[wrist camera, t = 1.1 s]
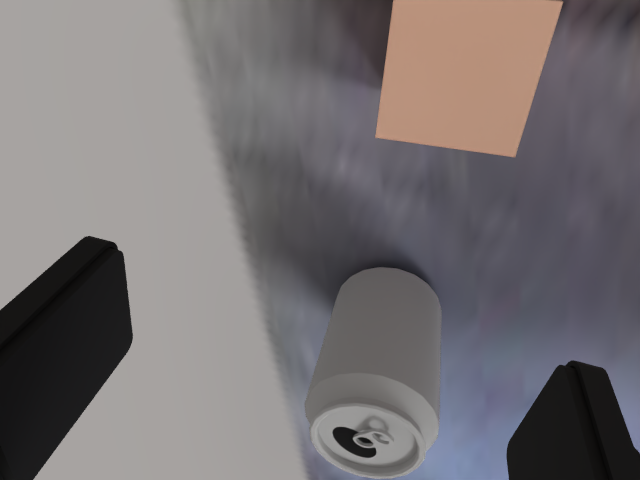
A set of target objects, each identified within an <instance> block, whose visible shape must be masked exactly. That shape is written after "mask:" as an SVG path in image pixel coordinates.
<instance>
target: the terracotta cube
mask: <svg viewBox="0 0 640 480" xmlns="http://www.w3.org/2000/svg"><path fill="white" fill-rule="evenodd" d="M562 4H563V1H561V0H393V7H392V15H391V23H390V30H389V38H388V45H387V53H386V60H385V68H384V76H383V83H382V91H381V98H380V106H379V114H378V121H377V129H376V136H375V138H382V139H389V140H396V141H403V142H410V143H417V144H424V145H431V146H438V147H445V148H452V149H459V150H467V151H474V152H481V153H488V154H495V155H502V156H509V157H515V156H516V152H517V149H518V146H519V143H520V139H521V136H522V133H523V130H524V127H525V123H526V120H527V117H528V114H529V110H530V107H531V104H532V101H533V98H534V94H535V91H536V88H537V85H538V81H539V78H540V75H541V72H542V68H543V65H544V62H545V59H546V56H547V52H548V49H549V46H550V43H551V39H552V36H553V33H554V30H555V26H556V23H557V20H558V17H559V14H560V10H561V7H562Z"/></svg>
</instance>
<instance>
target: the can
mask: <svg viewBox="0 0 640 480" xmlns="http://www.w3.org/2000/svg"><path fill="white" fill-rule="evenodd" d="M441 310H442V309H441V306H440V303H439V299H438V296H437V295H436V294H435V292H434V291H433V290H432V288H431V287H430V286H429V285H428V284H427V283H426V282H424V281H423V280H422V279H420V278H419V277H417V276H416V275H414V274H412V273H409V272H406V271H403V270H400V269H396V268H385V267H378V268H372V269H366V270H363V271H361V272H359V273H357V274H355V275H353V276H351V277H350V278H349V279H348V280H347V281H346V282H345V283H344V284H343V285H342V286H341V288H340V290H339V293H338V295H337V298H336V301H335V305H334V308H333V311H332V315H331V318H330V321H329V325H328V328H327V331H326V334H325V338H324V341H323V344H322V348H321V351H320V354H319V358H318V361H317V364H316V368H315V371H314V374H313V378H312V381H311V384H310V387H309V391H308V394H307V397H306V401H305V411H306V418H307V419H308V421H309V423H310V427H309V429H310V439H311V441H312V443H313V445H314V446H315V448H316V450H317V451H318V452H319V453H320V454H321V455H322V456H323V457H324V458H325V459H326V460H327V461H328V462H330V463H332V464H333V465H335V466H337V467H338V468H340V469H341V470H344V471H347V472H349V473H352V474H355V475H357V476H363V477H368V478H374V479H391V478H395V477H399V476H404V475H407V474H408V473H410V472H412V471H414V470H415V469H417V468H418V467H419V466H420V465H421V463H422V462H423V460H424V459H425V454H426V451H427V450H429V449H430V447H431V446H432V445H433V443H434V442H435V440H436V439H437V437H438V430H439V411H440V361H441Z"/></svg>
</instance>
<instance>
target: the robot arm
mask: <svg viewBox="0 0 640 480" xmlns="http://www.w3.org/2000/svg"><path fill="white" fill-rule="evenodd" d="M132 339H133V334H132V325H131V317H130V307H129V299H128V290H127V281H126V272H125V264H124V256H123V253H122V252H121V251H119V250H118V248H117V245H116V244H115V243H114V242H111V241H107V240H103V239H99V238H95V237H91V236H88V237H85V238H83V239H82V240H80V241H79V242H78V243H77V244H76V245H75V246H74V247H72V248H71V249H70V250H69V251H68V252H67V253H65V254H64V255H63V256H62V257H61V258H60V259H59V260H58V261H56V262H55V263H54V264H53V265H52V266H51V267H50V268H48V269H47V270H46V271H45V272H44V273H43V274H41V275H40V276H39V277H38V278H37V279H36V280H35V281H33V282H32V283H31V284H30V285H29V286H28V287H27V288H25V289H24V290H23V291H22V292H21V293H20V294H18V295H17V296H16V297H15V298H14V299H13V300H12V301H10V302H9V303H8V304H7V305H6V306H5V307H4V308H2V309H1V310H0V480H33V479H34V478H35V476H36V475H37V474H38V472H39V471H40V470H41V468H42V467H43V466H44V464H45V463H46V461H47V460H48V459H49V457H50V456H51V455H52V453H53V452H54V451H55V449H56V448H57V447H58V445H59V444H60V443H61V441H62V440H63V438H64V437H65V436H66V434H67V433H68V432H69V430H70V429H71V428H72V426H73V425H74V424H75V422H76V421H77V420H78V418H79V417H80V415H81V414H82V413H83V412H84V410H85V409H86V407H87V406H88V405H89V403H90V402H91V401H92V399H93V398H94V397H95V395H96V394H97V392H98V391H99V390H100V389H101V387H102V386H103V384H104V383H105V382H106V380H107V379H108V378H109V376H110V375H111V374H112V372H113V371H114V370H115V368H116V367H117V365H118V364H119V363H120V361H121V360H122V359H123V357H124V356H125V355H126V353H127V352H128V350H129V348H130V346H131V343H132ZM507 465H508V474H509V480H640V453H639V452H638V451H637V450H636V449H635V448H634V446H633V443H632V441H631V438H630V435H629V432H628V429H627V427H626V424H625V421H624V418H623V415H622V413H621V410H620V407H619V404H618V402H617V399H616V396H615V393H614V390H613V388H612V385H611V382H610V379H609V377H608V374H607V372H606V370H604V369H603V368H601V367H597V366H593V365H589V364H585V363H581V362H577V361H570V362H568V363H567V365H566V366H564V365H559V366H558V367H557V368H556V369H555V371H554V372H553V374H552V375H551V377H550V378H549V380H548V381H547V383H546V385H545V386H544V388H543V389H542V391H541V392H540V394H539V395H538V397H537V399H536V400H535V402H534V403H533V405H532V406H531V408H530V409H529V411H528V413H527V414H526V416H525V417H524V419H523V420H522V422H521V423H520V425H519V427H518V428H517V430H516V431H515V433H514V434H513V436H512V437H511V439H510V441H509V444H508V447H507Z"/></svg>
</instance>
